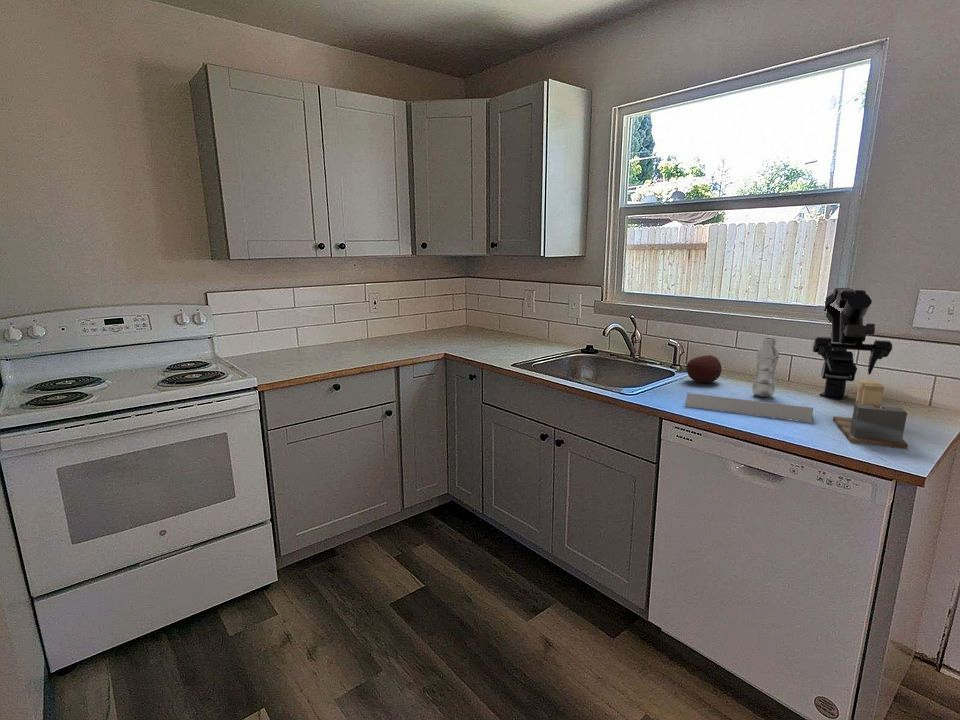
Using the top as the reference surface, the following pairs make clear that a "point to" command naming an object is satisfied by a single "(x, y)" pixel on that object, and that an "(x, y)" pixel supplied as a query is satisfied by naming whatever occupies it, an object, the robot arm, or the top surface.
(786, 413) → the decorative molding
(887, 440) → the walnut sill
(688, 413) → the top surface
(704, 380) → the potato
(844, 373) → the robot arm
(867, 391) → the pale yellow box
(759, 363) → the plastic bottle
